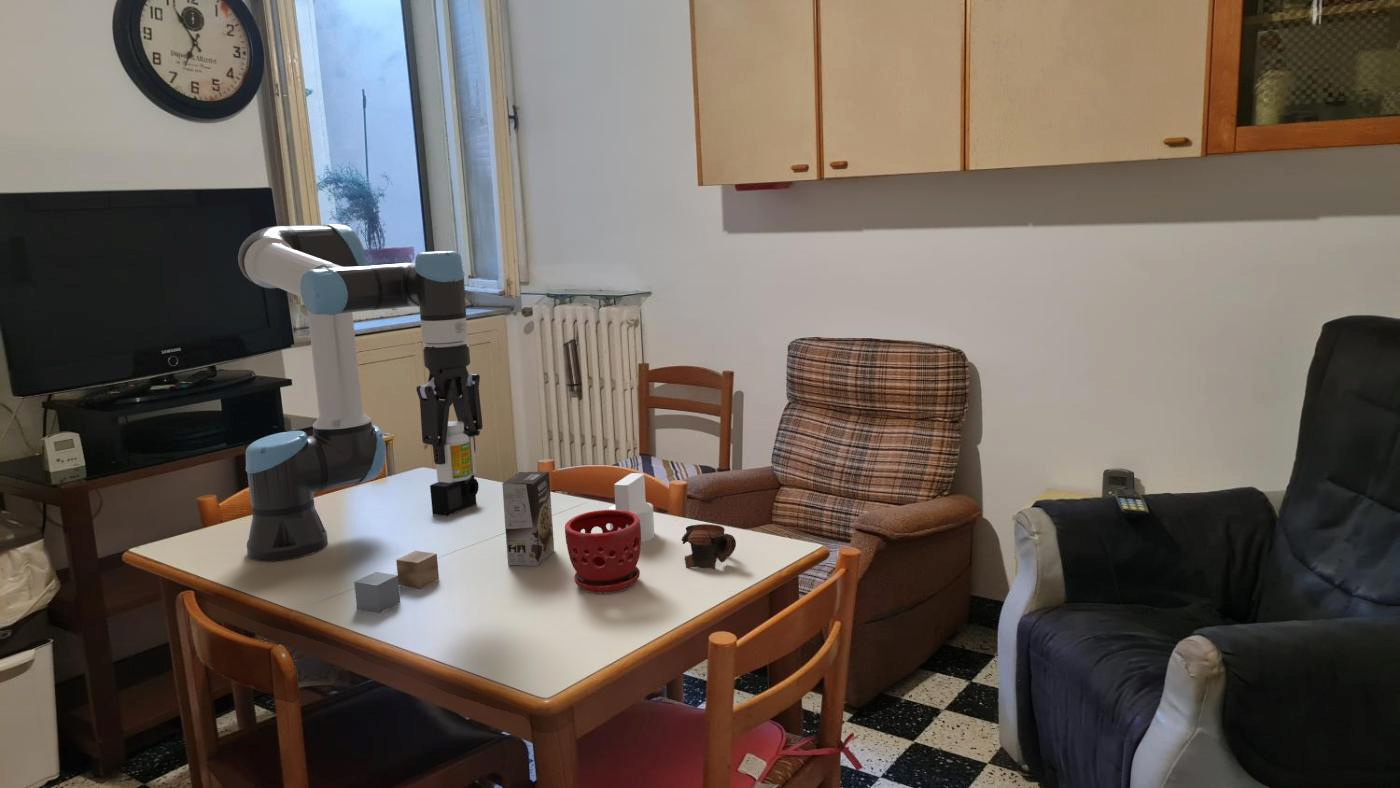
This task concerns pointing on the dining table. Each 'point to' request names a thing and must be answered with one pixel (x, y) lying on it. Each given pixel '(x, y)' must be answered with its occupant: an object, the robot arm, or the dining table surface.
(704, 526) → the pottery mug
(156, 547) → the dining table surface
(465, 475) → the supplement bottle
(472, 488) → the digital camera
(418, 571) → the walnut block
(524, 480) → the coffee box
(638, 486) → the base with upright slab
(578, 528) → the plant pot
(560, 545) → the dining table surface
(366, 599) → the slate block
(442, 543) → the dining table surface
